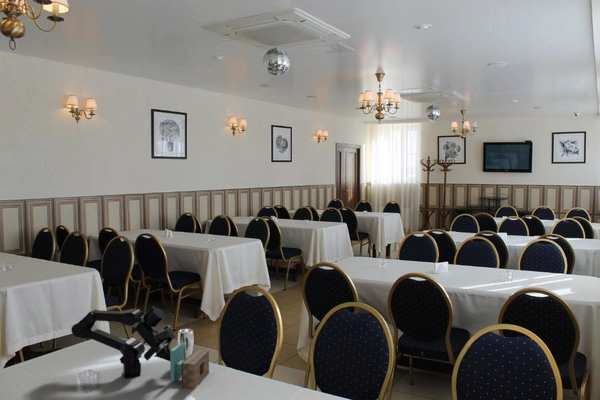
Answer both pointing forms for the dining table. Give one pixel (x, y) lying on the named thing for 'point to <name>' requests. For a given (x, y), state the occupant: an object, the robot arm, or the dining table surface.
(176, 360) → the teal fan slab
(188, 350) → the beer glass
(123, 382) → the dining table surface
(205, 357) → the block
